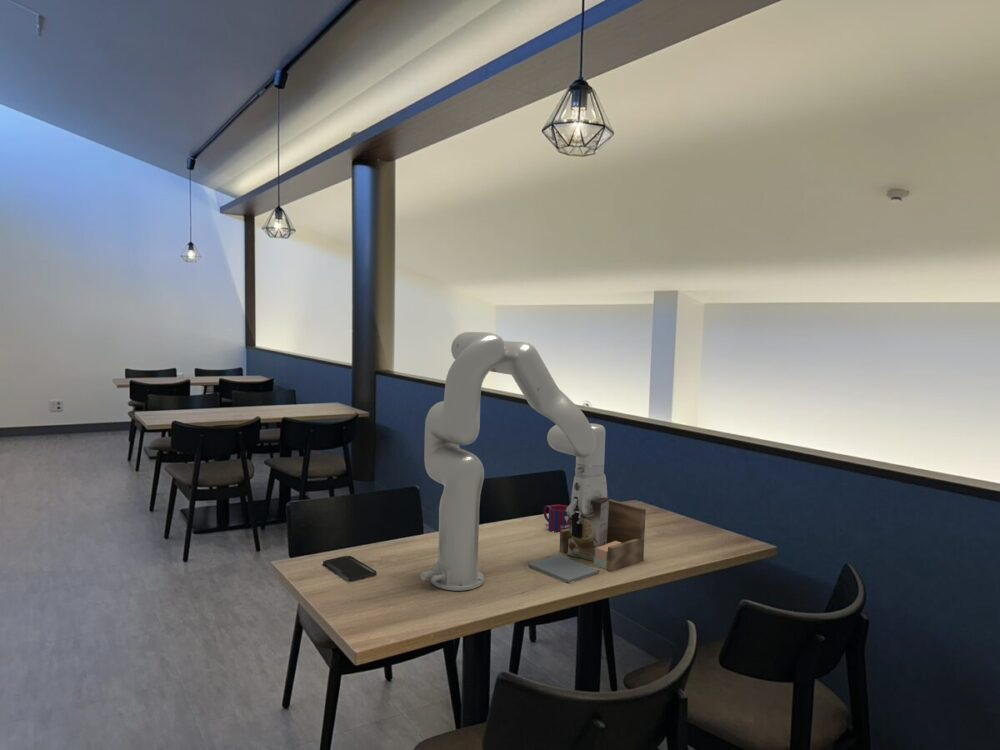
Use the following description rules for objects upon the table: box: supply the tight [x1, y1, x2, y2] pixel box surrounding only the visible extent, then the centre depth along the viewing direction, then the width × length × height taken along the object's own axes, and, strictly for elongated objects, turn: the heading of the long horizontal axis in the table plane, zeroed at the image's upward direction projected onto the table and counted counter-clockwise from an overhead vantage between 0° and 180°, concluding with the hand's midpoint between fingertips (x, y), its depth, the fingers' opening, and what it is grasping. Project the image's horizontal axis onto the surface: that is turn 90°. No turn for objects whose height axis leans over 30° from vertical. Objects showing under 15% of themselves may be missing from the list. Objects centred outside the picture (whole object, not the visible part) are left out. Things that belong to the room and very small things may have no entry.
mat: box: [528, 554, 600, 584], centre depth 167 cm, size 11×14×1 cm
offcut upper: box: [595, 541, 621, 561], centre depth 173 cm, size 9×4×2 cm, turn 135°
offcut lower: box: [593, 557, 607, 570], centre depth 173 cm, size 10×4×2 cm, turn 134°
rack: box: [559, 498, 647, 572], centre depth 178 cm, size 14×18×14 cm
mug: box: [543, 504, 570, 533], centre depth 202 cm, size 7×10×7 cm
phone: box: [322, 555, 378, 583], centre depth 163 cm, size 8×1×15 cm
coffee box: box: [567, 497, 610, 562], centre depth 178 cm, size 9×6×16 cm
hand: (587, 533), depth 178 cm, fingers closed on coffee box, 7 cm apart
